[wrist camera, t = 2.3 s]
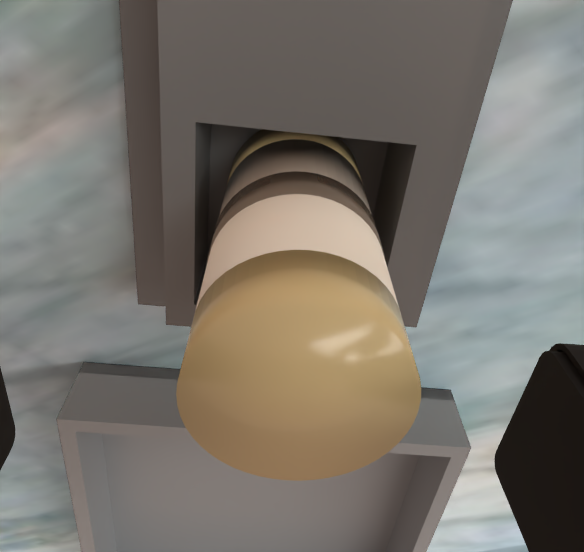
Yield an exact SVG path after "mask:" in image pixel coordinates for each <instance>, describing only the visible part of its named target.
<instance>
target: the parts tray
mask: <svg viewBox="0 0 584 552" xmlns="http://www.w3.org/2000/svg"><path fill="white" fill-rule="evenodd" d="M179 374H180V370H179V369H166V368H153V367H140V366H127V365H113V364H100V363H87V362H84V363H83V365H82V367H81V369H80V371H79V373H78V375H77V377H76V379H75V381H74V384H73V386H72V388H71V390H70V392H69V394H68V396H67V398H66V400H65V402H64V404H63V406H62V408H61V410H60V413H59V415H58V417H57V419H56V420H57V425H58V431H59V436H60V441H61V446H62V451H63V457H64V462H65V467H66V472H67V477H68V483H69V488H70V493H71V498H72V503H73V509H74V514H75V519H76V524H77V529H78V535H79V540H80V545H81V550H82V552H426V551H427V549H428V546H429V544H430V542H431V539H432V537H433V535H434V532H435V530H436V528H437V526H438V523H439V521H440V519H441V516H442V514H443V512H444V509H445V507H446V505H447V502H448V500H449V498H450V495H451V493H452V491H453V489H454V486H455V484H456V482H457V479H458V477H459V475H460V472H461V470H462V468H463V465H464V463H465V461H466V458H467V456H468V454H469V452H470V449H471V446H470V443H469V441H468V438H467V435H466V432H465V429H464V426H463V424H462V421H461V418H460V415H459V412H458V410H457V407H456V404H455V401H454V398H453V395H452V393H451V390H443V389H430V388H421V402H420V406H419V410H418V413H417V416H416V418H415V420H414V423H413V425H412V426H411V428H410V429H409V431H408V432H407V434H406V435H405V436H404V437H403V439H402V440H401V441H400V442H399V443H398V444H397V445H396V446H395V447H394V448H393V449H391V450H390V451H389V452H388V453H386V454H385V455H383V456H382V457H381V458H379V459H377V460H376V461H374V462H372V463H370V464H369V465H366V466H364V467H362V468H360V469H357V470H355V471H352V472H349V473H346V474H343V475H339V476H334V477H330V478H324V479H317V480H304V481H292V480H278V479H271V478H265V477H260V476H256V475H253V474H249V473H246V472H243V471H241V470H238V469H236V468H233V467H231V466H229V465H227V464H225V463H223V462H221V461H220V460H218V459H217V458H215V457H214V456H212V455H211V454H209V453H208V452H207V451H206V450H205V449H203V448H202V447H201V446H200V445H199V444H198V443H197V442H196V441H195V440H194V439H193V437H192V436H191V435H190V433H189V432H188V430H187V429H186V427H185V425H184V423H183V421H182V419H181V417H180V413H179V410H178V406H177V398H176V391H177V382H178V378H179Z"/></svg>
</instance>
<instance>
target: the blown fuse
mask: <svg viewBox="0 0 584 552" xmlns="http://www.w3.org/2000/svg"><path fill="white" fill-rule="evenodd" d="M176 398H177V406H178V410H179V413H180V417H181V419H182V421H183V423H184V425H185V427H186V429H187V430H188V432H189V433H190V435H191V436H192V437H193V439H194V440H195V441H196V442H197V443H198V444H199V445H200V446H201V447H202V448H203V449H205V450H206V451H207V452H208V453H209V454H211V455H212V456H214V457H215V458H217V459H218V460H220V461H221V462H223V463H225V464H227V465H229V466H231V467H233V468H236V469H238V470H241V471H243V472H246V473H249V474H253V475H256V476H260V477H265V478H271V479H278V480H292V481H304V480H317V479H324V478H330V477H334V476H339V475H343V474H346V473H349V472H352V471H355V470H357V469H360V468H362V467H364V466H366V465H369V464H370V463H372V462H374V461H376V460H377V459H379V458H381V457H382V456H383V455H385V454H386V453H388V452H389V451H390V450H391V449H393V448H394V447H395V446H396V445H397V444H398V443H399V442H400V441H401V440H402V439H403V437H404V436H405V435H406V434H407V432H408V431H409V429H410V428H411V426H412V425H413V423H414V420H415V418H416V416H417V413H418V410H419V406H420V402H421V383H420V377H419V374H418V370H417V367H416V363H415V360H414V357H413V353H412V350H411V346H410V343H409V340H408V336H407V333H406V329H405V326H404V323H403V319H402V316H401V312H400V309H399V306H398V302H397V299H396V295H395V292H394V289H393V285H392V282H391V278H390V275H389V272H388V268H387V265H386V261H385V256H384V251H383V248H382V245H381V241H380V238H379V235H378V231H377V228H376V225H375V222H374V219H373V217H372V214H371V210H370V207H369V204H368V200H367V197H366V194H365V190H364V187H363V183H362V180H361V177H360V173H359V170H358V166H357V163H356V160H355V158H354V156H353V154H352V152H351V151H350V149H349V148H348V146H347V145H346V144H345V143H344V142H343V141H342V140H341V139H340V138H339V137H333V136H324V135H314V134H305V133H295V132H285V131H276V130H266V129H262V130H260V131H258V132H257V133H256V134H254V135H253V136H251V137H250V138H249V139H248V140H247V141H246V142H245V143H244V144H243V146H242V147H241V148H240V150H239V151H238V153H237V155H236V156H235V159H234V161H233V163H232V167H231V171H230V175H229V179H228V183H227V187H226V191H225V195H224V199H223V203H222V207H221V211H220V215H219V218H218V221H217V223H216V227H215V231H214V235H213V239H212V243H211V247H210V251H209V255H208V259H207V266H206V270H205V274H204V278H203V282H202V286H201V290H200V294H199V298H198V302H197V306H196V310H195V314H194V318H193V322H192V326H191V330H190V334H189V338H188V342H187V346H186V350H185V354H184V358H183V362H182V366H181V370H180V374H179V378H178V382H177V391H176Z"/></svg>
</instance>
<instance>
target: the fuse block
mask: <svg viewBox="0 0 584 552" xmlns="http://www.w3.org/2000/svg"><path fill="white" fill-rule="evenodd" d="M512 1H513V0H119V6H120V22H121V38H122V54H123V70H124V86H125V102H126V119H127V135H128V151H129V167H130V183H131V199H132V215H133V231H134V247H135V263H136V280H137V296H138V304H143V305H155V306H166V325H177V326H190V327H191V326H192V322H193V318H194V314H195V310H196V306H197V302H198V298H199V294H200V290H201V286H202V282H203V278H204V274H205V270H206V266H207V259H208V255H209V251H210V247H211V243H212V239H213V235H214V231H215V227H216V223H217V221H218V218H219V215H220V211H221V207H222V203H223V199H224V195H225V191H226V187H227V183H228V179H229V175H230V171H231V167H232V163H233V161H234V159H235V156H236V155H237V153H238V151H239V150H240V148H241V147H242V146H243V144H244V143H245V142H246V141H247V140H248V139H249V138H250V137H251V136H253V135H254V134H256V133H257V132H258V131H260V130H262V129H266V130H276V131H285V132H295V133H305V134H314V135H324V136H333V137H339V138H340V139H341V140H342V141H343V142H344V143H345V144H346V145H347V146H348V148H349V149H350V151H351V152H352V154H353V156H354V158H355V160H356V163H357V166H358V170H359V173H360V177H361V180H362V183H363V187H364V190H365V194H366V197H367V200H368V204H369V207H370V210H371V214H372V217H373V219H374V222H375V225H376V228H377V231H378V235H379V238H380V241H381V245H382V248H383V251H384V256H385V261H386V265H387V268H388V272H389V275H390V278H391V282H392V285H393V289H394V292H395V295H396V299H397V302H398V306H399V309H400V312H401V316H402V319H403V323H404V326H408V327H417V323H418V320H419V317H420V313H421V310H422V306H423V303H424V300H425V296H426V293H427V289H428V286H429V283H430V279H431V276H432V272H433V269H434V266H435V262H436V259H437V255H438V252H439V249H440V245H441V242H442V238H443V235H444V232H445V228H446V225H447V222H448V218H449V215H450V211H451V208H452V205H453V201H454V198H455V194H456V191H457V188H458V184H459V181H460V177H461V174H462V171H463V167H464V164H465V160H466V157H467V154H468V150H469V147H470V143H471V140H472V137H473V133H474V130H475V127H476V123H477V120H478V116H479V113H480V110H481V106H482V103H483V99H484V96H485V93H486V89H487V86H488V82H489V79H490V76H491V72H492V69H493V65H494V62H495V59H496V55H497V52H498V48H499V45H500V42H501V38H502V35H503V32H504V28H505V25H506V21H507V18H508V15H509V11H510V8H511V4H512Z"/></svg>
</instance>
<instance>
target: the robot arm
mask: <svg viewBox="0 0 584 552" xmlns="http://www.w3.org/2000/svg"><path fill="white" fill-rule="evenodd" d="M14 439H15V425H14V421H13V416H12V412H11V408H10V404H9V400H8V396H7V392H6V388H5V384H4V380H3V376H2V372H1V368H0V470H1V468H2V466H3V464H4V462H5V460H6V458H7V456H8V455H9V453H10V451H11V448H12V446H13V443H14ZM495 469H496V473H497V475H498V478H499V480H500V483H501V485H502V488H503V490H504V492H505V495H506V497H507V500H508V502H509V504H510V507H511V509H512V512H513V514H514V517H515V519H516V521H517V524H518V526H519V529H520V531H521V533H522V536H523V538H524V541H525V543H526V546H527V548H528V550H529V552H584V345H575V344H561V343H560V344H555V345H554V346H553V347H551V349H550V350H549V351H545V352H544V353H542V355H541V356H540V358H539V360H538V362H537V364H536V367H535V369H534V371H533V373H532V375H531V377H530V379H529V382H528V384H527V386H526V388H525V390H524V392H523V395H522V397H521V399H520V401H519V403H518V405H517V408H516V410H515V412H514V414H513V416H512V418H511V421H510V423H509V425H508V427H507V429H506V431H505V433H504V436H503V438H502V440H501V442H500V444H499V446H498V449H497V451H496V454H495Z"/></svg>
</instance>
